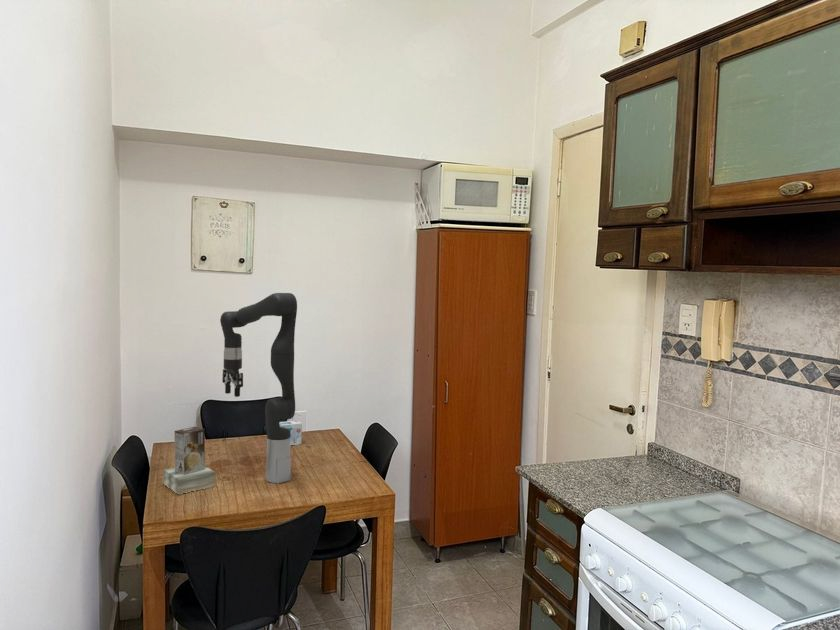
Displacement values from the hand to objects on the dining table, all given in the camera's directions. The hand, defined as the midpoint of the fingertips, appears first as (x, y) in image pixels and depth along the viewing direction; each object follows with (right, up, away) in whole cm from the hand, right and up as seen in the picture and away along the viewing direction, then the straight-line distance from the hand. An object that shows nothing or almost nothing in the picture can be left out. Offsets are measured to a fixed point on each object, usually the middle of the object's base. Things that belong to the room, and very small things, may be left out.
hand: (232, 394), depth 253 cm
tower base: (-8, -32, -26) cm, 42 cm away
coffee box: (-8, -26, -27) cm, 38 cm away
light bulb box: (+17, -29, +33) cm, 47 cm away
